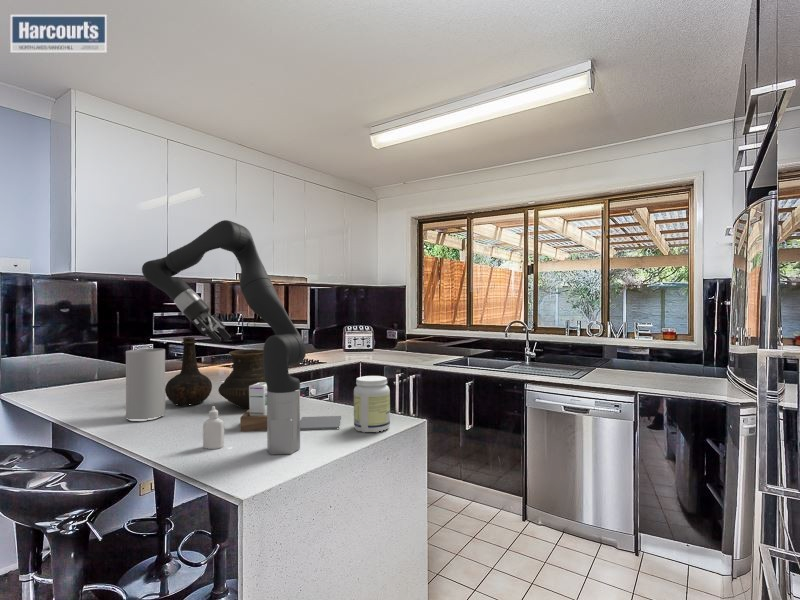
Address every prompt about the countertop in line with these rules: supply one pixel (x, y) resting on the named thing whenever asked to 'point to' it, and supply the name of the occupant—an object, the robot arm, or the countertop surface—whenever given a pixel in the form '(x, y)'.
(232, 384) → the ceramic pot
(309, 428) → the grey flat block
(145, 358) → the cylinder vase
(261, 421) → the walnut collar
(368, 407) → the supplement tub
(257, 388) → the syrup box
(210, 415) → the eye dropper bottle
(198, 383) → the brown bulbous vase
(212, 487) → the countertop surface
